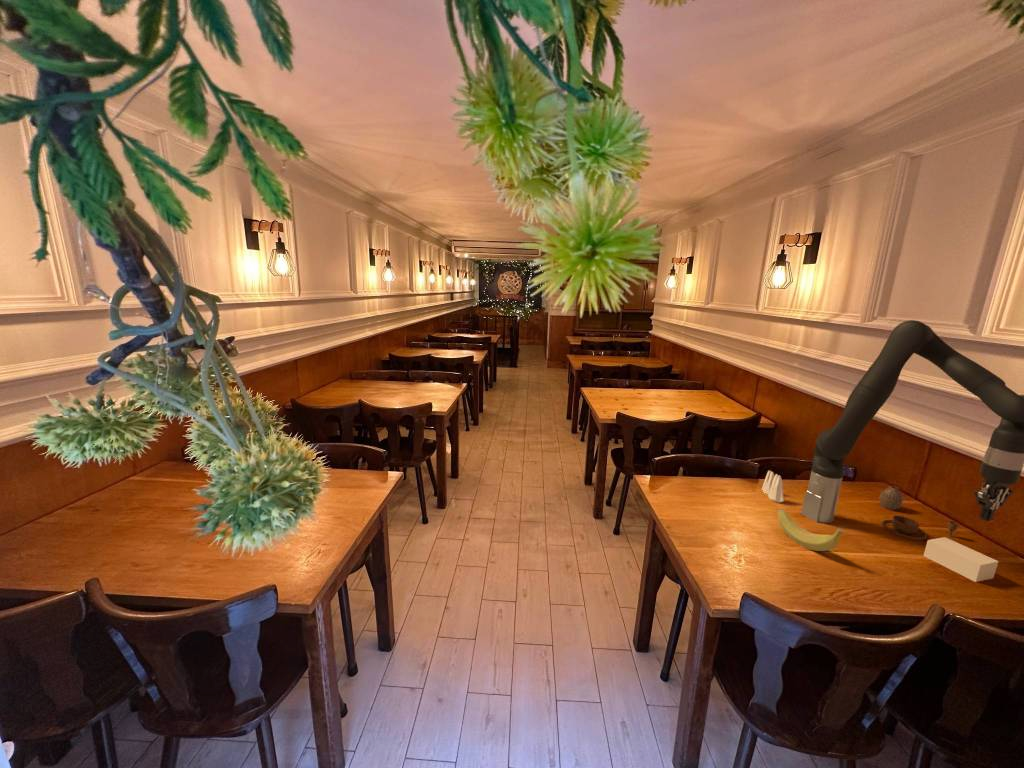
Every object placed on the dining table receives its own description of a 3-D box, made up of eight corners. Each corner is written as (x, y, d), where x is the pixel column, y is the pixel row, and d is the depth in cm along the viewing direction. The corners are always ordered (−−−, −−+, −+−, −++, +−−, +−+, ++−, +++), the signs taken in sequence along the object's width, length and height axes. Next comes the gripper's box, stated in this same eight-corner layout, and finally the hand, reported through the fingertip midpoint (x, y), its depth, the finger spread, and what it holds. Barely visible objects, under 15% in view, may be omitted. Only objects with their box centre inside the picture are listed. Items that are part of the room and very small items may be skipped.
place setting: (880, 517, 164) (883, 503, 163) (953, 537, 152) (958, 521, 151) (882, 536, 150) (886, 521, 149) (963, 560, 139) (968, 543, 137)
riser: (975, 583, 126) (980, 565, 125) (923, 557, 138) (927, 540, 137) (992, 579, 128) (998, 561, 127) (940, 553, 141) (944, 537, 139)
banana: (795, 549, 147) (856, 549, 130) (784, 551, 145) (843, 551, 128) (783, 508, 152) (839, 502, 134) (771, 509, 150) (827, 504, 132)
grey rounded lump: (905, 512, 168) (910, 491, 166) (887, 511, 168) (892, 490, 166) (890, 503, 174) (895, 483, 172) (873, 503, 174) (878, 482, 172)
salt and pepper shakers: (783, 505, 169) (788, 479, 166) (772, 504, 169) (776, 478, 167) (771, 492, 180) (775, 467, 178) (760, 491, 181) (764, 466, 179)
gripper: (1005, 471, 118) (987, 529, 121) (1035, 467, 121) (1017, 523, 125) (970, 460, 125) (954, 515, 128) (999, 457, 128) (983, 510, 132)
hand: (985, 519), depth 127 cm, fingers closed
